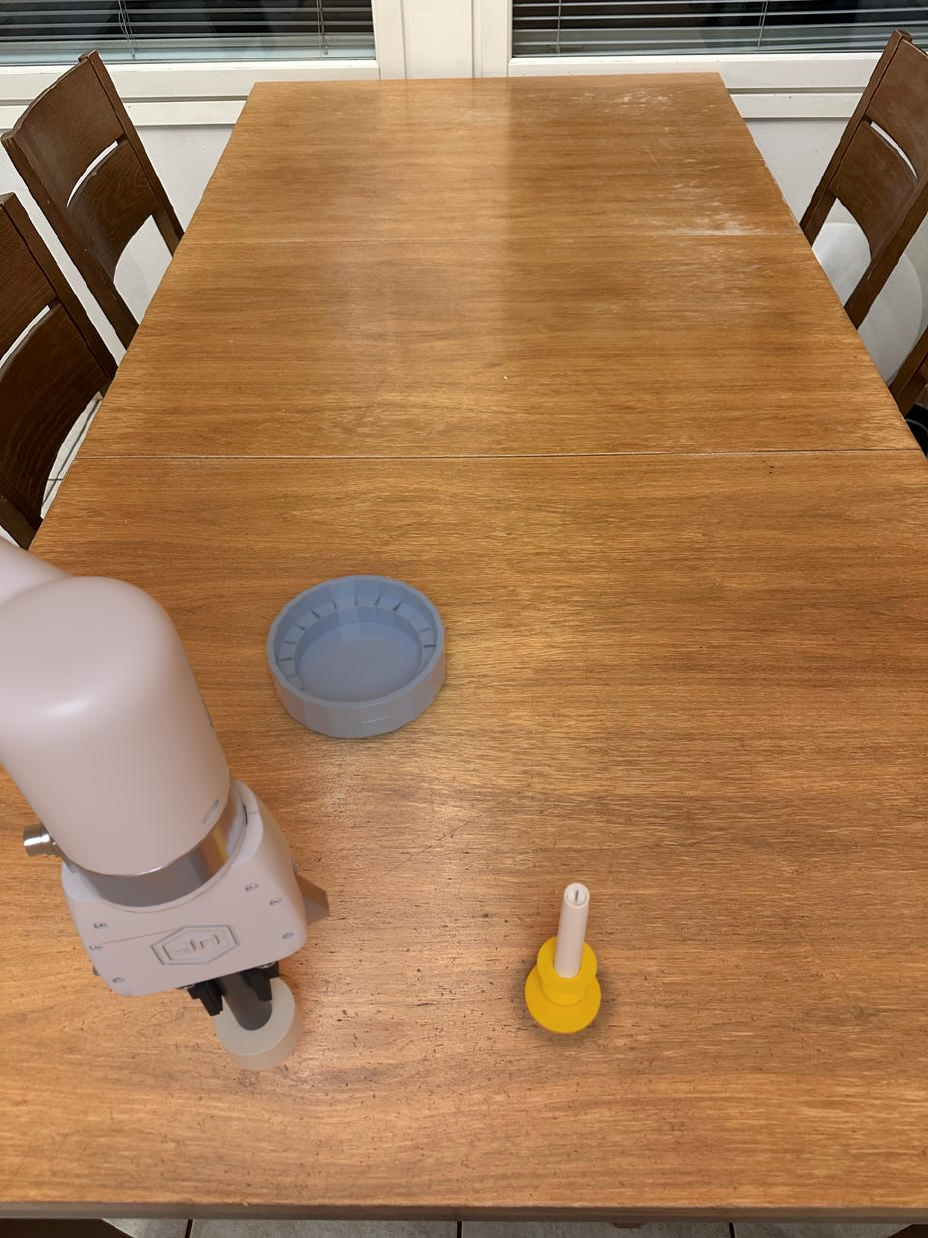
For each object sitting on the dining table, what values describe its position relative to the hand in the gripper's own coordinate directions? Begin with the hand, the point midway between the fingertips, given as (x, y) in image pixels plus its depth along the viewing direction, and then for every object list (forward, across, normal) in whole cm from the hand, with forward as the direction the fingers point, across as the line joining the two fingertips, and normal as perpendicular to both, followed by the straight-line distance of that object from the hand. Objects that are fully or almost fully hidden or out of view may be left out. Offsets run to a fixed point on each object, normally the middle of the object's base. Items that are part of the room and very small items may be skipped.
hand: (239, 982), depth 55 cm
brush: (+8, 0, 0) cm, 8 cm away
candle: (+11, +20, -2) cm, 23 cm away
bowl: (+11, +12, +30) cm, 34 cm away
